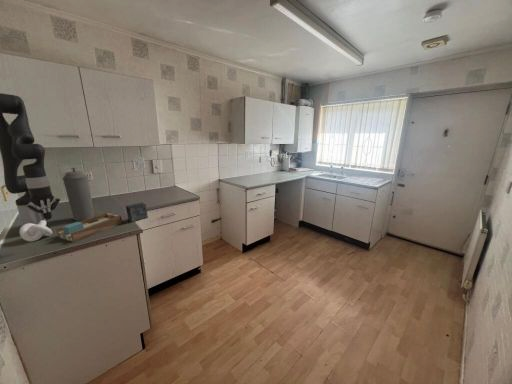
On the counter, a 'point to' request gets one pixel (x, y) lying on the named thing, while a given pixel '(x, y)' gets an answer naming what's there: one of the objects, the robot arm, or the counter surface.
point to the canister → (79, 195)
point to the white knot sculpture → (34, 231)
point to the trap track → (91, 227)
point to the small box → (136, 212)
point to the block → (72, 227)
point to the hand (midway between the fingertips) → (48, 219)
